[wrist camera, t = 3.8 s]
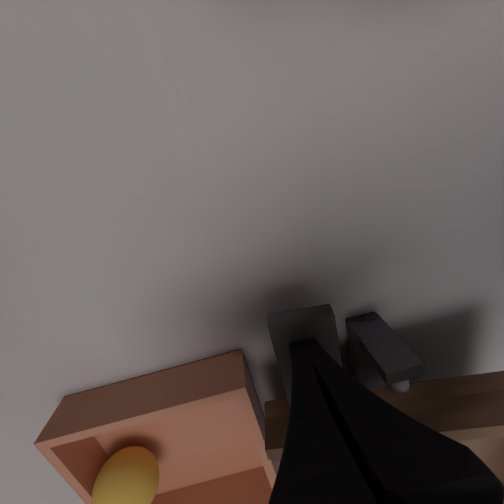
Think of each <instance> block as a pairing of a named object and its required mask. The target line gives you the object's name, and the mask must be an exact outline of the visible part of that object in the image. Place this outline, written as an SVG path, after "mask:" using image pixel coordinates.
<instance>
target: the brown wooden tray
mask: <svg viewBox="0 0 504 504" xmlns="http://www.w3.org/2000/svg"><path fill="white" fill-rule="evenodd" d="M268 328H269V332H270V336H271V339H272V343H273V347H274V351H275V354H276V358H277V362H278V365H279V369H280V373H281V377H282V380H283V384H284V388H285V391H286V395H287V399H281V400H274V401H266V402H265V452H266V454H267V457H268V460H272V459H278V460H279V463H280V461H281V456H282V452H283V448H284V443H285V438H286V433H287V427H288V421H289V414H290V405H291V391H292V364H291V355H290V351H289V347H288V345H289V344H290V343H293V342H296V341H300V340H304V339H309V338H314V339H316V341H317V342H318V343H319V344H320V345H321V346H322V348H323V349H324V350H325V351H326V352H327V353H328V354H329V355H330V356H331V357H332V358H333V359H334V360H335V361H336V362H337V363H338V364H339V365H341V366H342V362H341V355H340V349H339V342H338V335H337V328H336V321H335V316H334V313H333V311H332V308H331V306H330V304H325V305H319V306H313V307H307V308H302V309H296V310H290V311H284V312H279V313H273V314H268ZM368 389H369V390H371V391H372V392H373V393H375V394H376V395H377V396H379V397H380V398H382V399H383V400H385V401H386V402H388V403H389V404H391V405H392V406H394V407H395V408H397V409H399V410H400V411H402V412H404V413H405V414H407V415H408V416H410V417H412V418H413V419H415V420H417V421H418V422H420V423H422V424H424V425H426V426H428V427H429V428H431V429H433V430H435V431H437V432H439V433H441V434H443V435H445V436H447V437H449V438H451V439H453V440H455V441H457V442H459V443H461V444H463V445H465V446H467V447H469V448H470V449H471V450H472V451H473V452H474V453H475V454H476V455H477V456H478V457H479V458H480V459H481V460H482V461H483V462H484V463H485V464H486V465H487V466H488V467H489V468H490V470H491V471H492V472H493V473H494V474H495V475H496V477H497V478H498V479H499V480H500V481H501V483H502V485H503V486H504V371H499V372H491V373H484V374H476V375H468V376H460V377H453V378H445V379H437V380H429V381H421V382H414V383H409V379H408V380H405V381H401V382H397V383H394V384H390V385H389V386H383V387H375V388H368ZM503 504H504V499H503Z"/></svg>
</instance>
